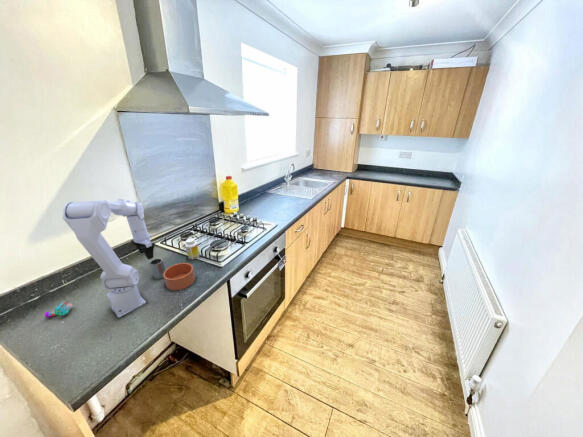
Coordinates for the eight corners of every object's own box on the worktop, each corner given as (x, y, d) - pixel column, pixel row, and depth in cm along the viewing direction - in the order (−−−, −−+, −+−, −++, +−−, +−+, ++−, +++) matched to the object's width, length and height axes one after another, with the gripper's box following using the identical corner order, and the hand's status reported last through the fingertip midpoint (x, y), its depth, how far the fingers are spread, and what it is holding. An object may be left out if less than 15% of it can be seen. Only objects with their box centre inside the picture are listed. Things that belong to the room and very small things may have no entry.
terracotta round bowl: (174, 295, 95) (171, 283, 93) (161, 283, 102) (158, 272, 100) (200, 280, 104) (198, 269, 101) (186, 270, 110) (184, 259, 108)
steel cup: (157, 281, 103) (152, 266, 100) (152, 276, 106) (147, 262, 103) (168, 275, 107) (164, 261, 104) (163, 271, 110) (159, 257, 107)
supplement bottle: (200, 253, 123) (197, 237, 119) (198, 259, 118) (194, 242, 114) (190, 254, 123) (186, 237, 119) (186, 260, 118) (182, 243, 114)
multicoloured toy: (54, 296, 88) (37, 308, 82) (76, 295, 89) (61, 307, 82) (58, 308, 90) (41, 320, 83) (80, 307, 90) (65, 319, 84)
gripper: (155, 230, 99) (163, 257, 104) (141, 221, 107) (149, 246, 112) (137, 236, 94) (146, 264, 99) (124, 226, 102) (133, 252, 107)
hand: (146, 255), depth 105 cm, fingers open, 7 cm apart
